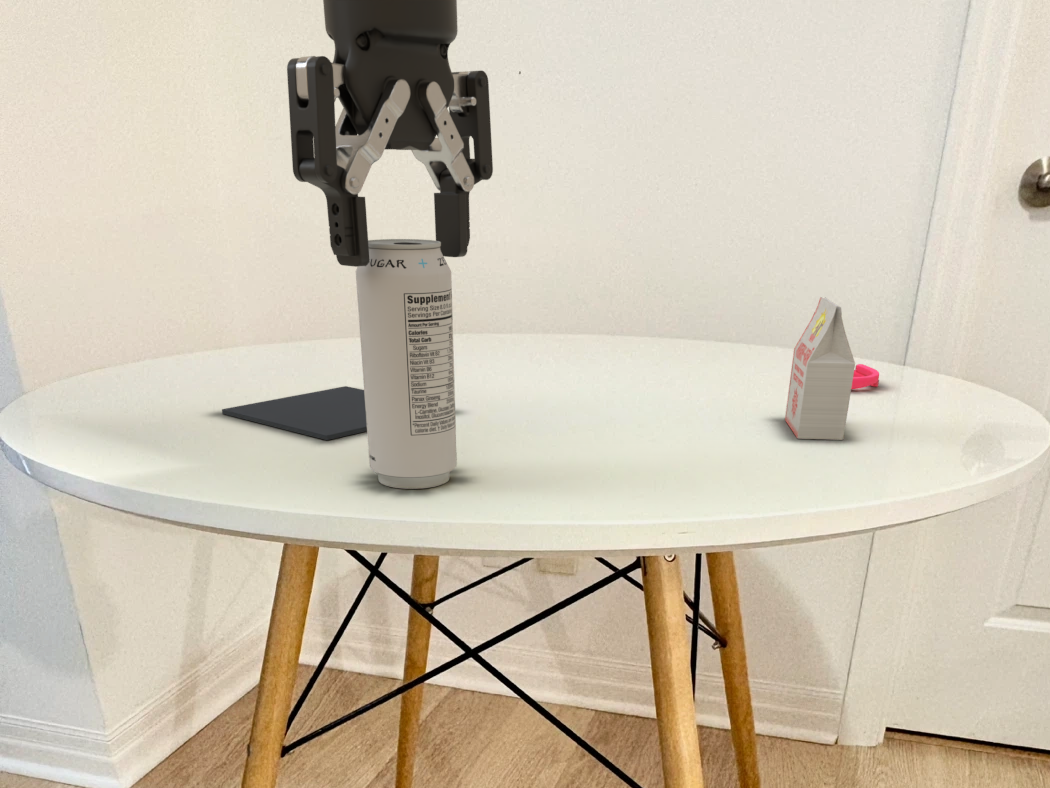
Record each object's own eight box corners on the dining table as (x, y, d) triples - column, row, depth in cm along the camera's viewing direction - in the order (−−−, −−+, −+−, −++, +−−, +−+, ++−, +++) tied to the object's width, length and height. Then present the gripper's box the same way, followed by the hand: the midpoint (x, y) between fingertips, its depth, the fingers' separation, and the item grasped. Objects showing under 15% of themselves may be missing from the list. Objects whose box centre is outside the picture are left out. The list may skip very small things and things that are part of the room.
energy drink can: (413, 462, 74) (401, 237, 66) (475, 477, 70) (470, 242, 63) (352, 480, 69) (333, 241, 62) (415, 496, 66) (402, 247, 59)
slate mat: (326, 440, 79) (326, 435, 79) (222, 413, 87) (221, 409, 87) (450, 412, 89) (450, 407, 88) (346, 390, 96) (345, 386, 96)
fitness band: (888, 390, 100) (891, 374, 99) (833, 392, 99) (836, 375, 98) (852, 375, 106) (854, 360, 106) (800, 376, 106) (802, 361, 105)
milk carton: (827, 421, 87) (845, 297, 82) (843, 439, 81) (864, 307, 77) (784, 419, 88) (800, 296, 83) (797, 438, 82) (815, 306, 77)
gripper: (430, -36, 62) (441, 251, 70) (237, -73, 53) (275, 264, 61) (522, -50, 58) (523, 257, 66) (331, -92, 48) (358, 273, 56)
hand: (404, 260), depth 63 cm, fingers open, 8 cm apart
